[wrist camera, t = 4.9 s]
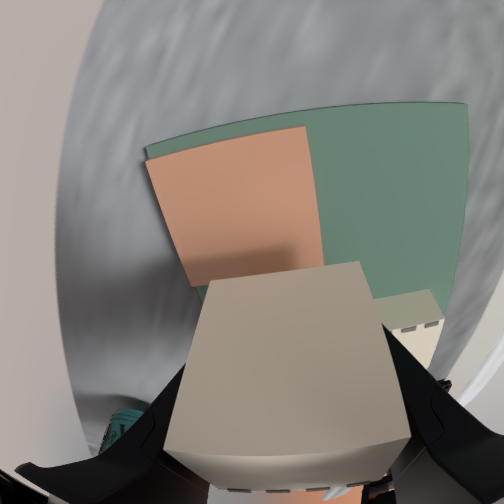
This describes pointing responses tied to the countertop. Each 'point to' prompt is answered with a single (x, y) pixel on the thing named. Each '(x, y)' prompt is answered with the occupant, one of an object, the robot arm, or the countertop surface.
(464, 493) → the robot arm
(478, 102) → the countertop surface
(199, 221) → the coaster
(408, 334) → the spiral notebook
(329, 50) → the countertop surface
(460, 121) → the mat
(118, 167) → the countertop surface
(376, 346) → the stub
